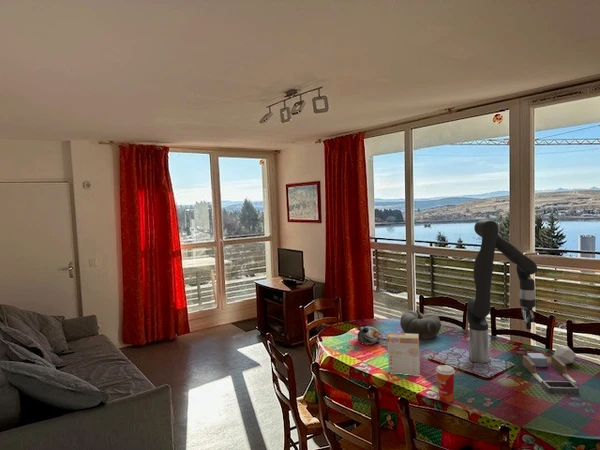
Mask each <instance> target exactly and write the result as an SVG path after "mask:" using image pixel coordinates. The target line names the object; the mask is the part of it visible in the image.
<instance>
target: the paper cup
mask: <svg viewBox="0 0 600 450" xmlns="http://www.w3.org/2000/svg"><path fill="white" fill-rule="evenodd" d="M435 372H436V377H437V389H438V390H437V391H438V397H439V401H440V402H442V401H443V403H446V402H449V403H452V402H454V385H455V382H454V381H455V379H454V378H455V372H456V371H455V368H454V367H453V366H451V365H447V364H444V365H443V364H441V365H438V366H436V369H435Z"/></svg>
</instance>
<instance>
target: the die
mask: <svg viewBox="0 0 600 450" xmlns="http://www.w3.org/2000/svg"><path fill="white" fill-rule="evenodd" d="M552 356H555V357H556V358H558V359H559V360H560V361H561V362H563V363H564V364H565V365H568V364H569V365H571V364H570V363H572V364H573V362H574V360H575V358H576V356H577V354H576V353H575V352H574V351H573V350H572V349H571V348H570V347H569V346H568V345H566V346H565V345H564V346H556V349H555V352H554V354H553V355H552Z"/></svg>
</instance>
